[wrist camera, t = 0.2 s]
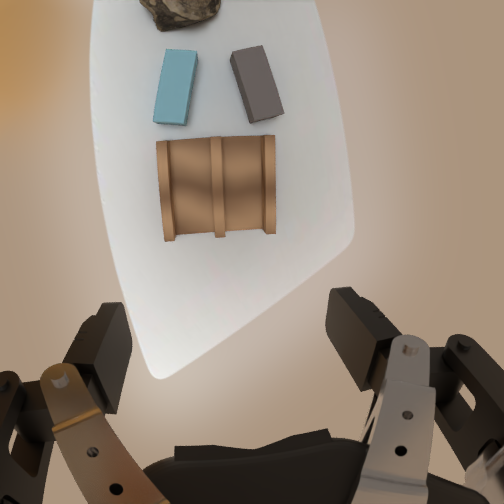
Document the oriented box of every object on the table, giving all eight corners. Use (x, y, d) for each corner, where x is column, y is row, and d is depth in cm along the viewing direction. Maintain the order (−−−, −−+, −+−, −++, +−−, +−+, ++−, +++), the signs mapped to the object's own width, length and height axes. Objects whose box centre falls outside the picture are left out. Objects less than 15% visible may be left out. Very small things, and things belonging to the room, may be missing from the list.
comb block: (160, 141, 34) (156, 141, 30) (268, 135, 35) (274, 135, 32) (168, 233, 38) (164, 241, 35) (269, 226, 40) (275, 233, 36)
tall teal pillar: (170, 58, 30) (166, 49, 26) (197, 60, 31) (196, 50, 27) (158, 123, 33) (152, 121, 29) (186, 125, 34) (183, 123, 30)
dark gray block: (229, 60, 31) (232, 51, 28) (256, 54, 31) (262, 45, 28) (249, 123, 35) (254, 121, 31) (276, 116, 35) (284, 113, 31)
